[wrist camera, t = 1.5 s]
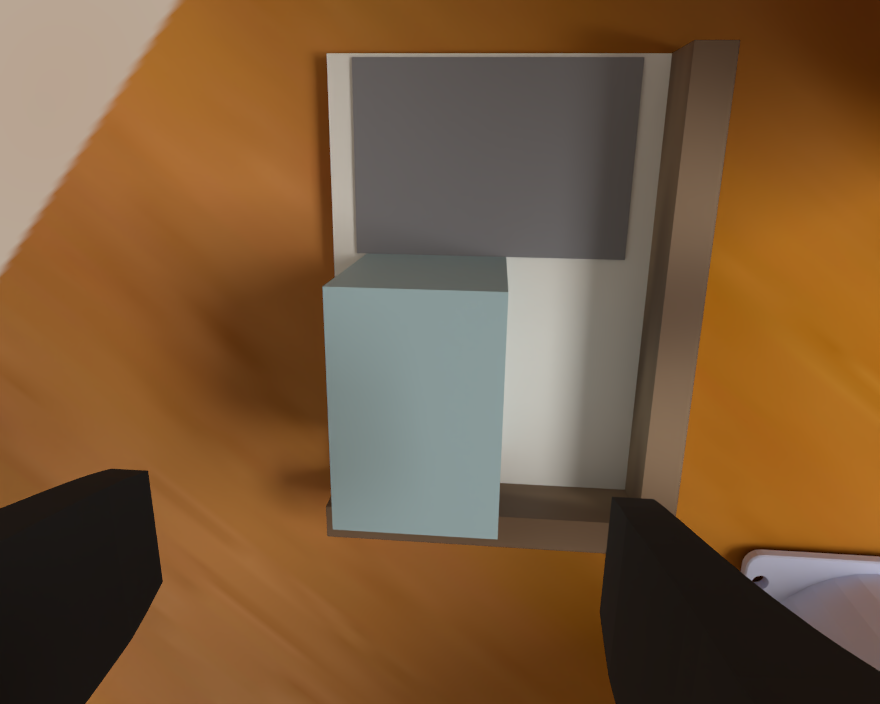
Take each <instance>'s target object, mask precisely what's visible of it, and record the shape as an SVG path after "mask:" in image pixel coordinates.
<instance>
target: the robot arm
mask: <svg viewBox="0 0 880 704" xmlns="http://www.w3.org/2000/svg"><path fill="white" fill-rule="evenodd" d="M757 576H763V578H762V579H761V580H760V581H758V582H753V581H752V580H753V579H754V578H755V577H757ZM162 582H163V580H162V573H161V565H160V558H159V550H158V543H157V535H156V528H155V520H154V513H153V505H152V498H151V490H150V483H149V475H148V471H142V470H124V469H109V470H105V471H101V472H97V473H94V474H91V475H87V476H84V477H82V478H79V479H76V480H73V481H70V482H67V483H65V484H62V485H59V486H57V487H54V488H51V489H49V490H46V491H44V492H41V493H39V494H36V495H33V496H31V497H28V498H26V499H23V500H21V501H18V502H16V503H13V504H11V505H8V506H6V507H3V508H1V509H0V704H85V703H86V702H87V701H88V699H89V698H90V697H91V695H92V694H93V693H94V691H95V690H96V688H97V687H98V686H99V684H100V683H101V682H102V680H103V679H104V677H105V676H106V675H107V673H108V672H109V670H110V669H111V668H112V666H113V665H114V663H115V662H116V661H117V659H118V658H119V656H120V655H121V654H122V652H123V651H124V649H125V648H126V647H127V645H128V644H129V642H130V641H131V639H132V638H133V636H134V634H135V632H136V630H137V629H138V627H139V625H140V623H141V622H142V620H143V618H144V616H145V615H146V613H147V611H148V609H149V607H150V605H151V603H152V601H153V599H154V597H155V595H156V594H157V592H158V590H159V588H160V586H161V584H162ZM600 617H601V625H602V632H603V640H604V647H605V654H606V661H607V668H608V675H609V679H610V683H611V687H612V691H613V695H614V699H615V703H616V704H880V557H879V556H863V555H846V554H830V553H813V552H796V551H780V550H763V549H759V550H753V551H751V552H749V553H748V554H747V555H746V556H745V557H744V559H743V561H742V566H741V572H740V571H739V570H738V569H736V568H735V567H734V566H733V565H732V564H730V563H729V562H728V561H727V560H726V559H724V558H723V557H722V556H721V555H720V554H718V553H717V552H716V551H715V550H714V549H713V548H711V547H710V546H709V545H708V544H707V543H706V542H704V541H703V540H702V539H701V538H700V537H699V536H697V535H696V534H695V533H694V532H693V531H692V530H691V529H689V528H688V527H687V526H686V525H685V524H684V523H682V522H681V521H680V520H679V519H678V518H677V517H675V516H674V515H673V514H672V513H671V512H670V511H668V510H667V509H666V508H665V507H664V506H662V505H661V504H660V503H659V502H657V501H656V500H654V499H644V498H626V497H612V500H611V510H610V520H609V529H608V539H607V548H606V558H605V568H604V577H603V587H602V596H601V606H600Z"/></svg>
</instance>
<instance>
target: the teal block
mask: <svg viewBox="0 0 880 704" xmlns="http://www.w3.org/2000/svg"><path fill="white" fill-rule="evenodd" d="M323 311H324V335H325V358H326V382H327V406H328V429H329V453H330V476H331V500H332V524H333V529H334V530H350V531H367V532H383V533H399V534H416V535H432V536H448V537H465V538H481V539H498V518H499V495H500V473H501V450H502V427H503V404H504V382H505V359H506V336H507V314H508V277H507V260H506V257H488V256H448V255H409V254H370V253H367V254H366V255H364V256H363V257H362V258H360V259H359V260H358V261H356V262H355V263H354V264H352V265H351V266H349V267H348V268H347V269H345V270H344V271H343V272H341V273H340V274H339V275H337V276H336V277H335V278H333V279H332V280H331V281H329V282H328V283H327V284H325V285H324V286H323Z"/></svg>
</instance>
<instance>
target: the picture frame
mask: <svg viewBox="0 0 880 704" xmlns="http://www.w3.org/2000/svg"><path fill="white" fill-rule="evenodd" d="M739 46H740V40H694V41H692V42H690V43H689V44H687V45H685V46H684V47H682V48H680V49H679V50H677V51H675V52H673V53H327V77H328V105H329V132H330V160H331V187H332V215H333V242H334V270H335V277H336V276H337V275H339V274H340V273H341V272H343V271H344V270H345V269H347V268H348V267H349V266H351V265H352V264H354V263H355V262H356V261H358V260H359V259H360V258H362V257H363V256H364V255H366V254H367V253H370V254H409V255H448V256H488V257H506V260H507V277H508V314H507V336H506V359H505V382H504V404H503V427H502V450H501V473H500V495H499V518H498V539H481V538H465V537H448V536H432V535H416V534H399V533H383V532H367V531H350V530H334V529H333V524H332V500H331V498H330V500H329V502H328V504H327V506H326V516H327V536H333V537H349V538H365V539H382V540H398V541H414V542H430V543H446V544H462V545H478V546H495V547H511V548H527V549H543V550H559V551H575V552H591V553H606V548H607V539H608V529H609V520H610V510H611V500H612V497H626V498H644V499H654V500H656V501H657V502H659V503H660V504H661V505H662V506H664V507H665V508H666V509H667V510H668V511H670V512H671V513H672V514H673V515H674V516H675V517H676V510H677V502H678V495H679V488H680V480H681V473H682V466H683V458H684V451H685V444H686V436H687V429H688V422H689V414H690V407H691V399H692V392H693V385H694V377H695V370H696V363H697V355H698V348H699V341H700V333H701V326H702V319H703V311H704V304H705V296H706V289H707V282H708V274H709V267H710V260H711V252H712V245H713V238H714V230H715V223H716V216H717V208H718V201H719V194H720V186H721V179H722V171H723V164H724V157H725V149H726V142H727V135H728V127H729V120H730V113H731V105H732V98H733V91H734V83H735V76H736V68H737V61H738V54H739Z"/></svg>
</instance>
